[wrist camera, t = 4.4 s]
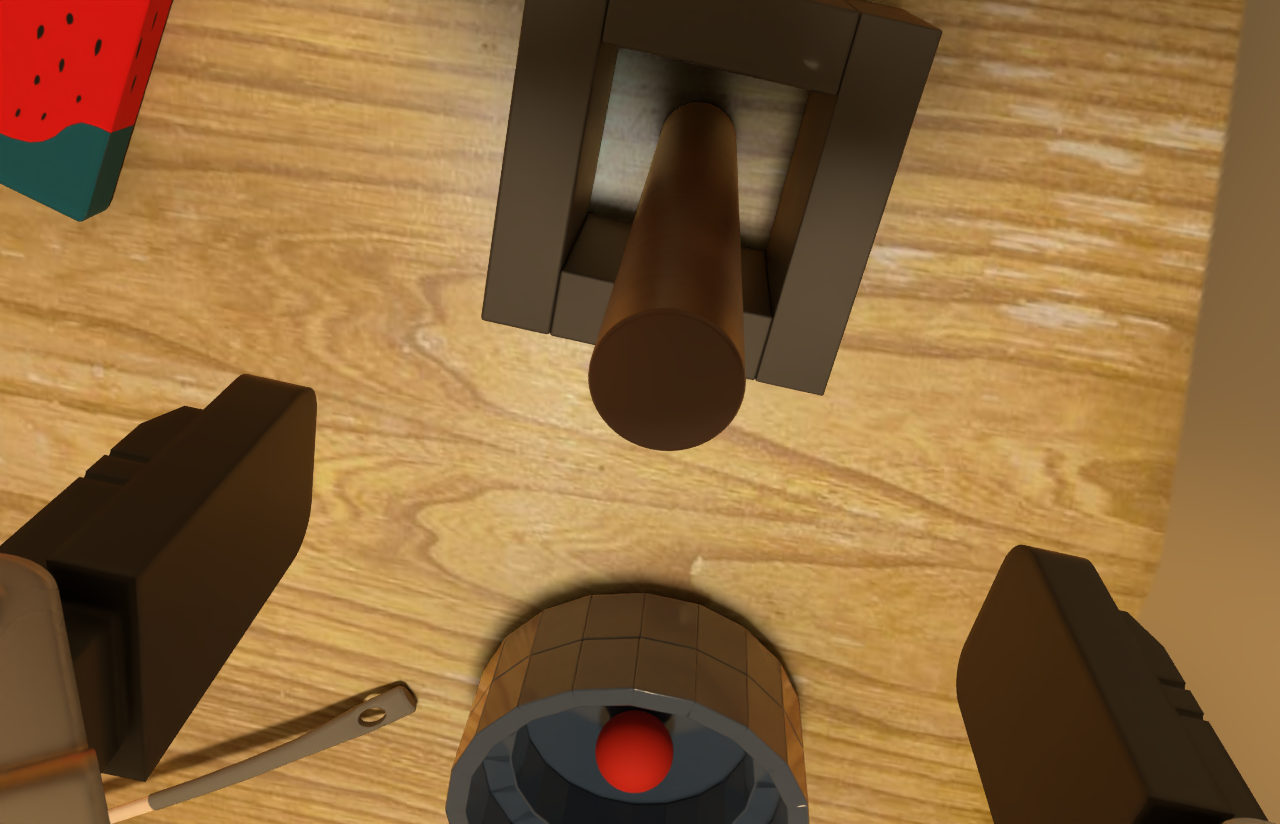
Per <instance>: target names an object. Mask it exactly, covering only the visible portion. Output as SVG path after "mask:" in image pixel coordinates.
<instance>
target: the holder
mask: <svg viewBox="0 0 1280 824" xmlns="http://www.w3.org/2000/svg"><path fill="white" fill-rule="evenodd" d="M941 35H942V30H940V29H938V28H936V27H934V26H932V25H930V24H929V23H927V22H925V21H923V20H921V19H919V18H917V17H915V16H913V15H912V14H910V13H908V12H906V11H904V10H902V9H898V8H894V7H890V6H885V5H881V4H877V3H872V2H868V1H863V0H525V4H524V11H523V19H522V26H521V33H520V40H519V47H518V55H517V62H516V69H515V76H514V84H513V91H512V98H511V105H510V113H509V120H508V127H507V134H506V141H505V149H504V156H503V163H502V170H501V178H500V185H499V192H498V199H497V207H496V214H495V221H494V228H493V235H492V243H491V250H490V257H489V264H488V272H487V279H486V286H485V293H484V301H483V308H482V315H481V317H482V320H485V321H489V322H494V323H498V324H503V325H507V326H512V327H516V328H521V329H525V330H530V331H534V332H539V333H543V334H549V333H550V334H551V335H552V336H556V337H561V338H565V339H570V340H574V341H579V342H583V343H588V344H592V345H595V344H596V341H597V338H598V334H599V331H600V328H601V325H602V322H603V318H604V315H605V312H606V309H607V305H608V302H609V299H610V296H611V292H612V289H613V286H614V283H615V279H616V276H617V273H618V270H619V266H620V263H621V260H622V257H623V254H624V250H625V247H626V244H627V241H628V237H629V234H630V231H631V228H632V224H633V222H629V221H624V220H620V219H616V218H611V217H607V216H602V215H598V214H593V213H588V210H589V204H590V199H591V194H592V188H593V183H594V177H595V172H596V166H597V161H598V155H599V150H600V145H601V139H602V134H603V128H604V123H605V117H606V112H607V106H608V101H609V95H610V90H611V85H612V79H613V74H614V68H615V63H616V57H617V52H618V47H622V48H627V49H631V50H635V51H640V52H644V53H649V54H653V55H657V56H662V57H666V58H671V59H675V60H679V61H684V62H688V63H692V64H697V65H701V66H706V67H710V68H714V69H719V70H723V71H728V72H732V73H736V74H741V75H745V76H749V77H754V78H758V79H763V80H767V81H771V82H776V83H780V84H785V85H789V86H793V87H798V88H802V89H806V90H810V94H809V98H808V101H807V105H806V109H805V112H804V116H803V119H802V123H801V127H800V130H799V134H798V138H797V141H796V145H795V148H794V152H793V156H792V159H791V163H790V167H789V170H788V174H787V177H786V181H785V185H784V188H783V192H782V196H781V199H780V203H779V206H778V210H777V214H776V217H775V221H774V225H773V228H772V232H771V235H770V239H769V243H768V246H767V250H766V254H765V252H763V251H758V250H754V249H749V248H745V247H741V272H742V297H743V322H744V347H745V372H746V379H751V380H754V379H756V381H758V382H762V383H767V384H771V385H776V386H780V387H785V388H789V389H794V390H798V391H803V392H807V393H812V394H817V395H821V396H823V394H824V392H825V389H826V386H827V382H828V379H829V376H830V373H831V370H832V367H833V364H834V361H835V358H836V355H837V352H838V349H839V346H840V343H841V340H842V337H843V334H844V331H845V328H846V325H847V322H848V318H849V315H850V312H851V309H852V306H853V303H854V300H855V297H856V294H857V291H858V288H859V285H860V282H861V279H862V276H863V273H864V270H865V267H866V264H867V261H868V258H869V254H870V251H871V248H872V245H873V242H874V239H875V236H876V233H877V230H878V227H879V224H880V221H881V218H882V215H883V212H884V209H885V206H886V203H887V200H888V197H889V193H890V190H891V187H892V184H893V181H894V178H895V175H896V172H897V169H898V166H899V163H900V160H901V157H902V154H903V151H904V148H905V145H906V142H907V139H908V136H909V133H910V129H911V126H912V123H913V120H914V117H915V114H916V111H917V108H918V105H919V102H920V99H921V96H922V93H923V90H924V87H925V84H926V81H927V78H928V75H929V72H930V69H931V65H932V62H933V59H934V56H935V53H936V50H937V47H938V44H939V41H940V38H941Z"/></svg>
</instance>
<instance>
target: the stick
mask: <svg viewBox="0 0 1280 824" xmlns="http://www.w3.org/2000/svg"><path fill="white" fill-rule="evenodd" d="M588 382H589V389H590V394H591V397H592V400H593V403H594V405H595V407H596V409H597V411H598V412H599V414H600V416H601V417H602V419H603V420H604V421H605V422H606V423H607V424H608V426H609V427H610V428H612V429H613V430H614V431H615V432H616V433H617V434H619V435H620V436H621V437H623V438H624V439H626V440H628V441H630V442H632V443H634V444H636V445H639V446H641V447H645V448H649V449H653V450H660V451H677V450H684V449H689V448H692V447H696V446H699V445H701V444H703V443H705V442H707V441H709V440H711V439H712V438H714V437H715V436H717V435H718V434H719V433H721V432H722V431H723V430H724V429H725V428H726V427H727V426H728V425H729V424H730V423H731V421H732V420H733V419H734V417H735V416H736V414H737V412H738V410H739V409H740V406H741V404H742V401H743V398H744V393H745V386H746V372H745V347H744V322H743V297H742V272H741V247H740V222H739V196H738V171H737V146H736V133H735V129H734V126H733V124H732V122H731V120H730V119H729V117H728V116H727V115H726V114H725V113H724V112H723V111H722V110H721V109H719V108H717V107H716V106H713V105H711V104H708V103H702V102H695V103H689V104H686V105H683V106H681V107H680V108H678V109H676V110H675V111H674V112H673V113H672V114H671V115H670V116H669V117H668V118H667V120H666V121H665V123H664V125H663V128H662V131H661V134H660V137H659V140H658V144H657V147H656V150H655V153H654V156H653V160H652V163H651V166H650V169H649V173H648V176H647V179H646V182H645V186H644V189H643V192H642V195H641V199H640V202H639V205H638V208H637V211H636V215H635V218H634V221H633V224H632V228H631V231H630V234H629V237H628V241H627V244H626V247H625V250H624V254H623V257H622V260H621V263H620V266H619V270H618V273H617V276H616V279H615V283H614V286H613V289H612V292H611V296H610V299H609V302H608V305H607V309H606V312H605V315H604V318H603V322H602V325H601V328H600V331H599V334H598V338H597V341H596V344H595V347H594V351H593V354H592V357H591V361H590V365H589V373H588Z"/></svg>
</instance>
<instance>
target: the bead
mask: <svg viewBox="0 0 1280 824" xmlns="http://www.w3.org/2000/svg"><path fill="white" fill-rule="evenodd" d="M595 755H596V762H597V765H598V768H599V770H600V772H601V774H602V776H603V777H604V778H605V779H606V781H607V782H608V783H609V784H611V785H612V786H613V787H615V788H616V789H618V790H621V791H624V792H628V793H641V792H645V791H648V790H650V789H652V788H654V787H656V786H657V785H658V784H659V783H660V782H662V780H663V779H664V778H665V777H666V775H667V774H668V772H669V770H670V768H671V765H672V761H673V742H672V739H671V736H670V733H669V731H668V730H667V728H666V727H665V725H664V724H663V723H662V722H661V721H660V720H659V719H658V718H657V717H655V716H654V715H652V714H650V713H647V712H644V711H639V710H631V711H625V712H622V713H619V714H617V715H616V716H614V717H613V718H611V719H610V720H609V721H608V722H607V723H606V724H605V725H604V726H603V728H602V729H601V731H600V733H599V736H598V738H597V742H596V749H595Z"/></svg>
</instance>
